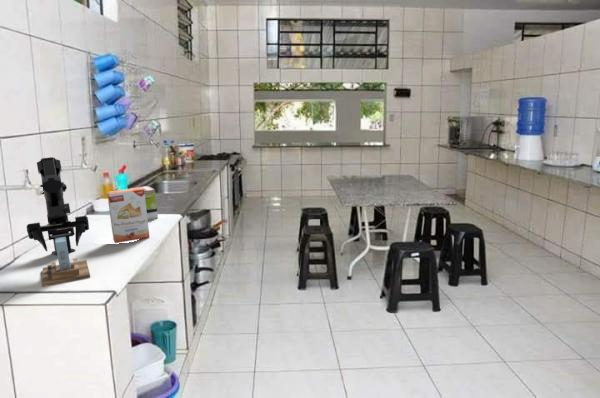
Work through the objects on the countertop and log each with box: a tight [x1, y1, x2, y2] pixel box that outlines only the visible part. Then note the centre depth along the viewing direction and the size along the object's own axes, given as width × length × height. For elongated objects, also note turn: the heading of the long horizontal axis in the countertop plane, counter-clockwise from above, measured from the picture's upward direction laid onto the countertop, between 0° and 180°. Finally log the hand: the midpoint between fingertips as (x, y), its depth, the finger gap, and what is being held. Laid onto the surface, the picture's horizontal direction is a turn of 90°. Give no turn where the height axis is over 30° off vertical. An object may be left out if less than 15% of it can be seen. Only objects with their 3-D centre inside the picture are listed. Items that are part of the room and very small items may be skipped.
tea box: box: [128, 185, 159, 221], centre depth 238 cm, size 15×10×15 cm, turn 30°
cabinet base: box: [41, 258, 91, 288], centre depth 162 cm, size 18×14×3 cm
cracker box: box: [106, 187, 150, 244], centre depth 198 cm, size 14×6×21 cm, turn 117°
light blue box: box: [55, 236, 71, 271], centre depth 160 cm, size 8×3×11 cm, turn 27°
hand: (61, 248), depth 160 cm, fingers open, 9 cm apart
